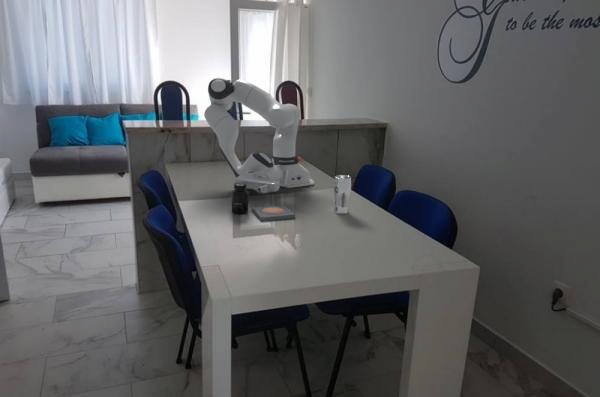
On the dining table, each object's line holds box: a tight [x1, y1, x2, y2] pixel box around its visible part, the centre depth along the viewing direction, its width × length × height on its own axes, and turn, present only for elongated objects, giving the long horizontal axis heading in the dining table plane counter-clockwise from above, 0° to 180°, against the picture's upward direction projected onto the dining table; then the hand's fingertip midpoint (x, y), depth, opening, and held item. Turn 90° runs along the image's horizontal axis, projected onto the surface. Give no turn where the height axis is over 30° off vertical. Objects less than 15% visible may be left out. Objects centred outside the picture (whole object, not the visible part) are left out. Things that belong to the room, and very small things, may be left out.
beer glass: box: [333, 174, 352, 215], centre depth 193 cm, size 7×7×15 cm
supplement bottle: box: [230, 182, 250, 215], centre depth 189 cm, size 7×7×12 cm
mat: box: [251, 204, 296, 222], centre depth 189 cm, size 14×13×2 cm
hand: (249, 187), depth 199 cm, fingers open, 8 cm apart
